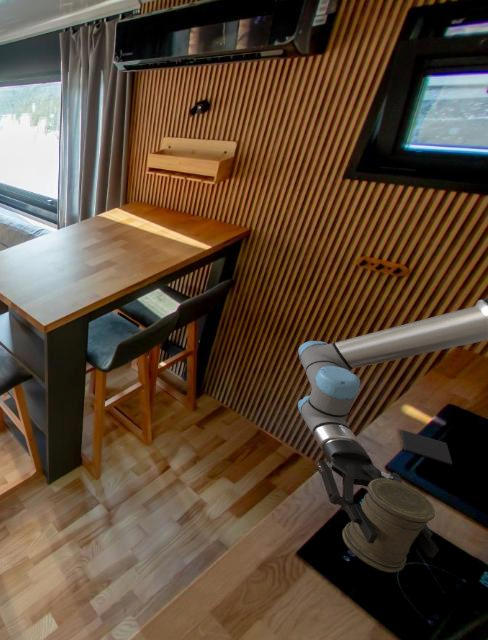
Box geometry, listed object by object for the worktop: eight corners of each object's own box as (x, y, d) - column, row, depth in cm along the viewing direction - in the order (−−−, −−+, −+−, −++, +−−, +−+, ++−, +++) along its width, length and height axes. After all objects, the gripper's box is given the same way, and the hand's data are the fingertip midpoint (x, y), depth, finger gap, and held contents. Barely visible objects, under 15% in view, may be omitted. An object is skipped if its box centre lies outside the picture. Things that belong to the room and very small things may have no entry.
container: (390, 582, 73) (425, 530, 65) (332, 539, 80) (357, 489, 73) (413, 558, 75) (449, 506, 68) (354, 519, 83) (381, 468, 75)
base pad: (445, 445, 99) (446, 442, 99) (451, 466, 95) (452, 463, 94) (400, 432, 105) (401, 429, 104) (403, 451, 100) (405, 448, 99)
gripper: (395, 468, 85) (473, 575, 67) (284, 450, 94) (326, 540, 75) (406, 447, 82) (491, 552, 64) (291, 430, 91) (337, 518, 72)
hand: (402, 545), depth 70 cm, fingers closed on container, 8 cm apart
